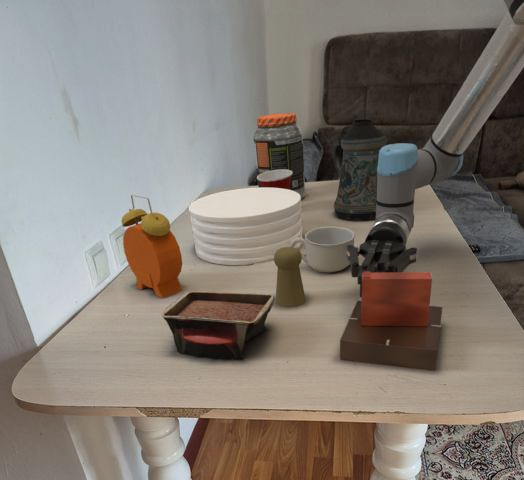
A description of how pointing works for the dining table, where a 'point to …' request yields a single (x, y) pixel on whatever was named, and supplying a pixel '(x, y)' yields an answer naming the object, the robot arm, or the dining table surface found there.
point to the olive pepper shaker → (289, 277)
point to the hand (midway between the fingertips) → (364, 289)
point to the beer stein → (357, 170)
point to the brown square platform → (392, 342)
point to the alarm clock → (152, 251)
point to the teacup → (326, 248)
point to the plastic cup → (276, 179)
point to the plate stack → (245, 224)
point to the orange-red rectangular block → (395, 298)
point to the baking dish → (217, 322)
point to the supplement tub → (280, 148)
